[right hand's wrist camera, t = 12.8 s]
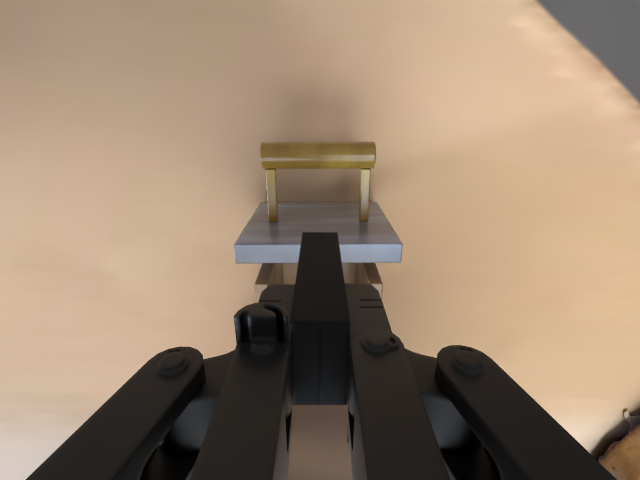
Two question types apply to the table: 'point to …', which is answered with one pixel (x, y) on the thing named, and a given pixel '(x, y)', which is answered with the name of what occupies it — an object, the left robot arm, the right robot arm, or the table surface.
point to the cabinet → (319, 443)
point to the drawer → (317, 217)
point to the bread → (624, 453)
